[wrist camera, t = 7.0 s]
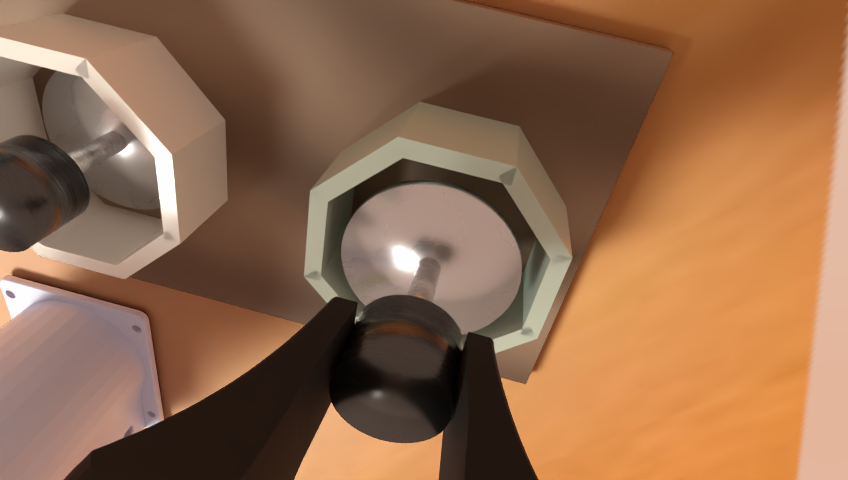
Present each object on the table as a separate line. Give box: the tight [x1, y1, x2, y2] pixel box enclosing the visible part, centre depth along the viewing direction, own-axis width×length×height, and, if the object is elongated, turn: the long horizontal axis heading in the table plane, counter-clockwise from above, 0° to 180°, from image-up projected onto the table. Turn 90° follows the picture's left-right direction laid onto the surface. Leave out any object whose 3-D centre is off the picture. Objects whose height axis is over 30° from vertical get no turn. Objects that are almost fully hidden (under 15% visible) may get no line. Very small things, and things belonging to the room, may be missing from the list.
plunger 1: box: [0, 71, 161, 252], centre depth 18 cm, size 6×6×6 cm
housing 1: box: [0, 14, 228, 280], centre depth 19 cm, size 8×8×3 cm
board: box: [0, 0, 674, 384], centre depth 20 cm, size 15×24×1 cm, turn 79°
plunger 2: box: [329, 179, 522, 443], centre depth 15 cm, size 6×6×6 cm
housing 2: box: [304, 102, 572, 353], centre depth 18 cm, size 8×8×3 cm
